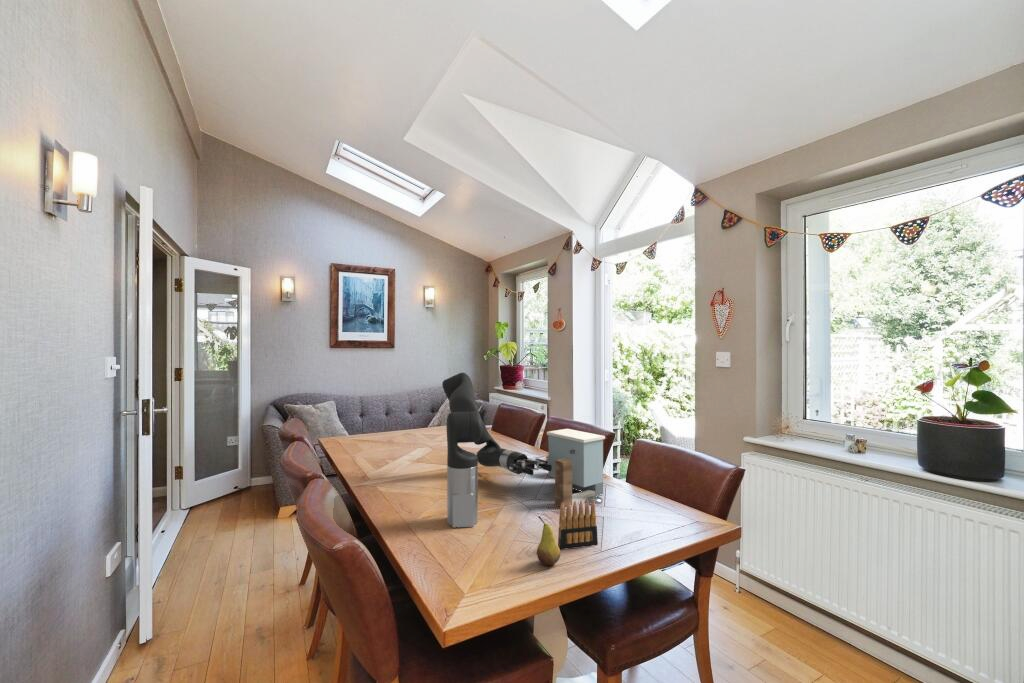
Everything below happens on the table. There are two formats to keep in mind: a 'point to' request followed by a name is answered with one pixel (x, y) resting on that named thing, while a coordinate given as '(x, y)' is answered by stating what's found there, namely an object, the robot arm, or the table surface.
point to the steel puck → (595, 499)
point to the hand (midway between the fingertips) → (541, 470)
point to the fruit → (548, 547)
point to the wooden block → (567, 485)
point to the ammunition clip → (577, 526)
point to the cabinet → (579, 457)
